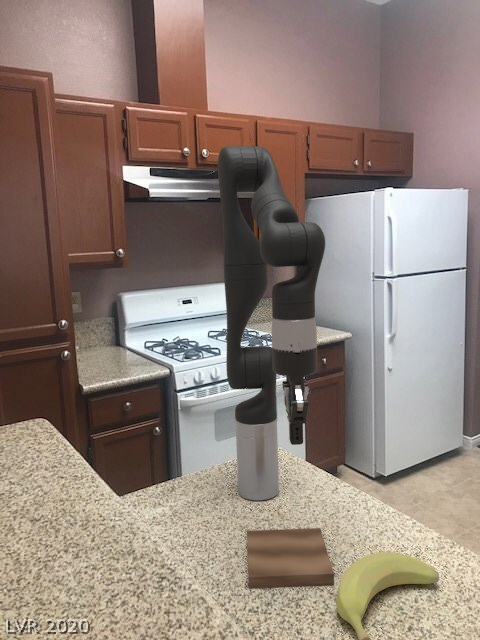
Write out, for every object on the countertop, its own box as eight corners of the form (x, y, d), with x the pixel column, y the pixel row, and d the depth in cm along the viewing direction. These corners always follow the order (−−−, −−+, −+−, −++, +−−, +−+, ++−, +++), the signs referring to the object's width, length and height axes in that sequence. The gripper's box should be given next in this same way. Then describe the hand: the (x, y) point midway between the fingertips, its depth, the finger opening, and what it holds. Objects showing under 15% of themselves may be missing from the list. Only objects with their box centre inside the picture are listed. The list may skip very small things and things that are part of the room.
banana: (355, 553, 92) (320, 640, 75) (361, 527, 91) (326, 610, 73) (435, 586, 87) (417, 688, 70) (443, 559, 85) (427, 657, 68)
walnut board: (247, 540, 100) (246, 530, 100) (320, 537, 100) (320, 528, 100) (248, 588, 86) (248, 577, 86) (334, 585, 86) (333, 573, 86)
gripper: (268, 337, 94) (271, 430, 97) (275, 353, 81) (278, 460, 84) (310, 336, 94) (311, 428, 97) (323, 351, 81) (325, 457, 84)
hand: (296, 442), depth 90 cm, fingers closed
